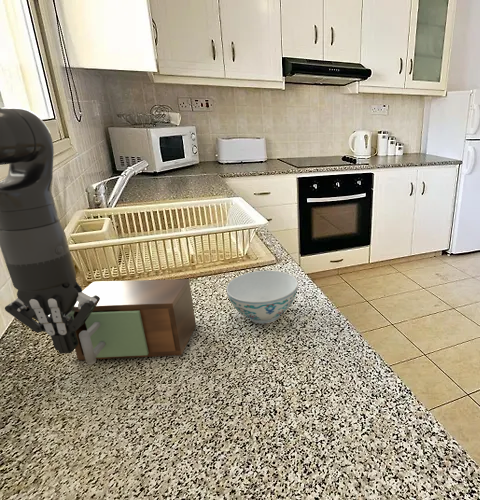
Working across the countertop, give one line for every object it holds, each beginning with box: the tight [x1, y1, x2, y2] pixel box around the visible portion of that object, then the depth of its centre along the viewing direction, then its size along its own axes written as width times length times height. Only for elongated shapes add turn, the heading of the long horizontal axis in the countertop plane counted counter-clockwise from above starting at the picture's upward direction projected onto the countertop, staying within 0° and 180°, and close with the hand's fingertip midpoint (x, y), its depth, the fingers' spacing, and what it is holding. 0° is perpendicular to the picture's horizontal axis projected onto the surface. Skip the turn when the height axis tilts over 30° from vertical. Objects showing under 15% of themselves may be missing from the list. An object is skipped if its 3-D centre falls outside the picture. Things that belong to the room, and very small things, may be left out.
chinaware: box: [225, 269, 299, 325], centre depth 82 cm, size 15×15×8 cm
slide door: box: [79, 311, 149, 366], centre depth 64 cm, size 9×5×9 cm, turn 96°
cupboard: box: [74, 278, 197, 361], centre depth 71 cm, size 18×10×11 cm, turn 96°
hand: (68, 350), depth 61 cm, fingers closed
